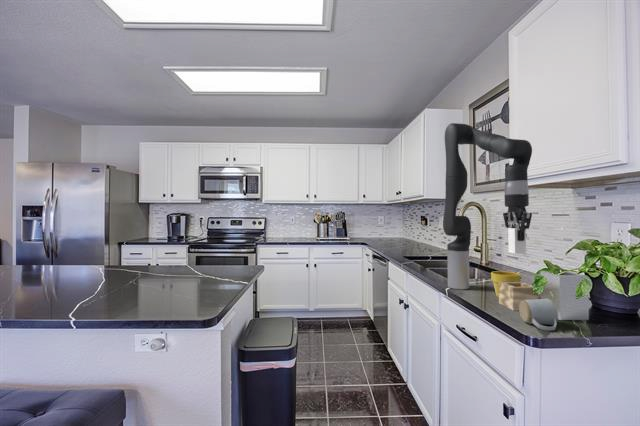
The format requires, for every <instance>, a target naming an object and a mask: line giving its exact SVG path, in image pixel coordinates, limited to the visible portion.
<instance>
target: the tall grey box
mask: <svg viewBox="0 0 640 426" xmlns="http://www.w3.org/2000/svg"><path fill="white" fill-rule="evenodd" d="M547 271H548V270H544V271H543V270H542V271H539V272H540V275H542V276H544V277H545V278H546V279H547V280H548V282H547V283H546V284H545V289H544V291H543V292H542V293H541V292H540V299H550V300H551V301H552V302H553V303H554V305H555V307H556V309H557V313H558V320H559V321H581V320H582V321H585V320H586V321H588V320H589V318H590V317H589V295H588V296H586V297H583V298H580V299H576V298H578V297H575V295H577V293H576V291H575V290H576V288H577V286H578V284H580V282H581V281H582V280H584V279H588V280H589V276H588V275H584V274H581V273H576V272H572V271H568V272H566V273H564V274H563V275H558V274H554V273H550V272H547ZM550 291H551V292H552V294H553V297H552V296H551V294H550Z"/></svg>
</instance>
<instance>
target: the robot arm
mask: <svg viewBox="0 0 640 426" xmlns="http://www.w3.org/2000/svg"><path fill="white" fill-rule="evenodd" d="M459 145H460V146H461V145H474V146H477V147H478V148H479V149H481V150H483V151H485V152H489V153H493V154H496V155H497V156H499V157H501V158H504V159H510V160H512V159H513V162H512V164H511V165H509V166H506V167H505V170H504V206H505V208H507V212H503V213H502V216H503V220H504V225H505V228H507V229H508V228H517V230H518V231H517V240H518V241H524V240H525V230H526V231H527V230H529V229H530V227H531V226H530V225H531V221H532V217H533V216H532V215H533V214H532V212H528V211H527V209H526V207H528V206H529V204H530V201H529V200H530V197H529V196H530V193H529V183H528V178H529V177H528V167H529V165H530V162H531V158H532V154H533V148H532V145H531V142H530V141H528V140H527V139H518V138H517V139H515V138H508V137H506V136H504V135H500V134H496V133H491V132H487V131H482V130H480V129H477V128H476V127H474V126H472V125H469V124H466V123H456V122H455V123H449V124H448V125H447V126H446V128H445V132H444V146H445V147H444V149H445V201H444V211H443V212H444V213H443V219H442V221H443V222H442V227H443V231H444V234H445V236H449V237H451V236H452V237H455V236H456V238H455V239H454V240H453V241H451V242H449V243H447V247H446V248H447V250H446V251H447V252H446V253H447V257H446V258H447V287H448V288H451V289H455V290H468V289H470V251H469V250H470V246H471V236H472V235H471V233H472V224H471V220H470V218H469V217H468V216H465V215H457V208H458V204H459V202H460V200H461V198H462V197H463V196H464V194H465V193H466V191H467V188H468V171H467V168H466V166H465V164H464V162H463V161H462V159H461V156H460V151H459Z"/></svg>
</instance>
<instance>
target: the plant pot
mask: <svg viewBox="0 0 640 426" xmlns="http://www.w3.org/2000/svg"><path fill="white" fill-rule="evenodd" d="M521 276H522V275H521V274H520V273H518V272H512V271H502V270H496V271H491V272H490V278H491V281H492V283H493V288H494V291H495V296H496V297H497V298H499V282H521Z"/></svg>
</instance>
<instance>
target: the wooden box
mask: <svg viewBox="0 0 640 426" xmlns="http://www.w3.org/2000/svg"><path fill="white" fill-rule="evenodd" d="M533 286H534V285H532V284H530V283H526V282H524V281H520V282H499V297H498V303H499V304H500V305H502V306H504V307H505V308H508V309H509V310H512V311H519V304H520V302H521V301H524V300H534V299H540V298H539V297H540V296H539V295H540V294H538V293H533V292H534V291H533Z"/></svg>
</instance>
